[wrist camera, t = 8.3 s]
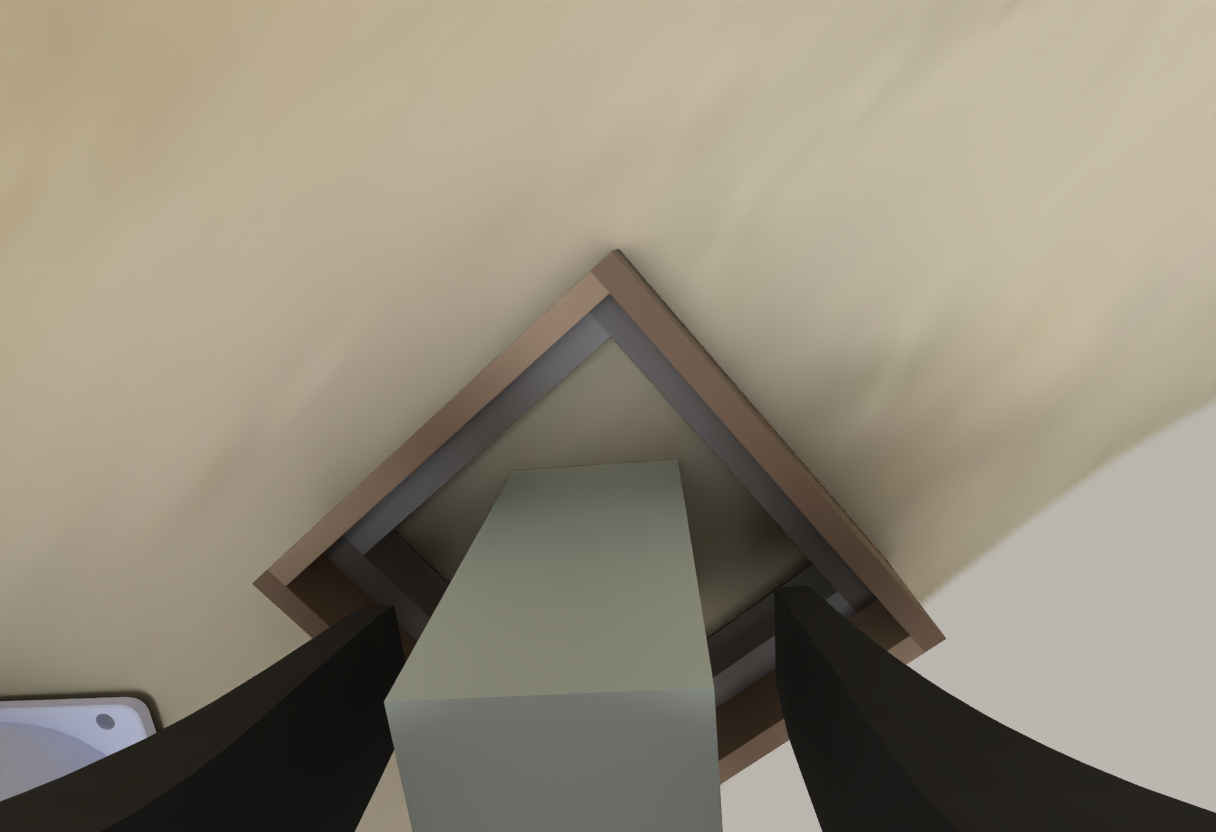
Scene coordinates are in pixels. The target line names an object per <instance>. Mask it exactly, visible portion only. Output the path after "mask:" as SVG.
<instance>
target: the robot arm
mask: <svg viewBox="0 0 1216 832" xmlns="http://www.w3.org/2000/svg"><path fill="white" fill-rule="evenodd" d="M774 610H775V667H776V686H777V690H778V695H779V699H780V704H781V708H782V712H783V717H784V721H785V725H786V729H787V733H788V737H789V740H790V742H791V745H792V748H793V751H794V754H795V757H796V759H797V762H798V765H799V768H800V771H801V774H802V776H803V779H804V782H805V785H806V787H807V790H808V793H809V796H810V798H811V801H812V804H813V807H814V810H815V812H816V815H817V818H818V821H819V823H820V826H821V829H822V831H823V832H1216V813H1214V812H1211V811H1209V810H1206V809H1203V808H1200V807H1197V806H1194V805H1191V804H1189V803H1186V802H1183V801H1180V800H1177V799H1174V798H1171V797H1168V796H1166V795H1163V794H1160V793H1157V792H1154V791H1152V790H1148V789H1146V788H1143V787H1141V786H1138V785H1135V784H1133V783H1131V782H1128V781H1126V780H1123V779H1121V778H1118V777H1116V776H1114V775H1111V774H1109V773H1106V772H1104V771H1101V770H1099V769H1097V768H1094V767H1092V766H1089V765H1087V764H1085V763H1082V762H1080V761H1078V760H1075V759H1073V758H1071V757H1069V756H1067V755H1065V754H1062V753H1060V752H1058V751H1056V750H1053V749H1051V748H1049V747H1047V746H1045V745H1043V744H1041V743H1039V742H1037V741H1035V740H1033V739H1031V738H1029V737H1027V736H1025V735H1023V734H1021V733H1019V732H1017V731H1015V730H1013V729H1011V728H1009V727H1007V726H1005V725H1003V724H1001V723H999V722H998V721H996V720H994V719H992V718H990V717H988V716H986V715H985V714H983V713H981V712H979V711H978V710H976V709H974V708H972V707H971V706H969V705H968V704H966V703H964V702H963V701H961V700H959V699H957V698H956V697H954V696H952V695H951V694H949V693H947V692H946V691H944V690H942V689H941V688H939V687H938V686H936V685H935V684H933V683H932V682H930V681H929V680H927V679H926V678H924V677H922V676H921V675H920V674H918V673H917V672H916V671H914V670H913V669H911V668H910V667H908V666H907V665H906V664H904V663H903V662H901V661H900V660H898V659H897V658H896V657H894V656H893V655H892V654H890V653H889V652H888V651H886V650H885V649H884V648H882V647H881V646H880V645H878V644H877V643H876V642H875V641H873V640H872V639H871V638H870V637H868V636H867V635H866V634H865V633H863V632H862V631H861V630H860V629H858V628H857V627H856V626H855V625H854V624H852V623H851V622H850V621H849V620H848V619H846V618H845V617H844V616H843V615H842V614H840V613H839V612H838V611H837V610H836V609H835V608H833V607H832V606H831V605H830V604H829V603H828V602H827V601H825V600H824V599H823V598H822V597H821V596H820V595H818V594H817V593H816V592H815V591H814V590H813V589H811V588H810V587H809V586H790V587H774ZM405 663H406V662H405V657H404V652H403V647H402V642H401V637H400V632H399V627H398V621H397V616H396V611H395V606H394V605H392V606H371V607H363V608H361V609H359V610H357V611H355V612H353V613H352V614H350V615H348V616H347V617H345V618H343V619H342V620H340V621H339V622H337V623H335V624H334V625H332V626H331V627H329V628H328V629H326V630H325V631H323V632H322V633H320V634H319V635H317V636H316V637H314V638H313V639H311V640H310V641H308V642H307V643H305V644H304V645H302V646H301V647H299V648H298V649H296V650H295V651H293V652H292V653H290V654H289V655H287V656H286V657H284V658H283V659H281V660H280V661H278V662H276V663H275V664H273V665H272V666H270V667H269V668H267V669H266V670H264V671H262V672H261V673H259V674H258V675H256V676H254V677H253V678H251V679H249V680H248V681H246V682H245V683H243V684H241V685H240V686H238V687H237V688H235V689H233V690H232V691H230V692H228V693H227V694H225V695H224V696H222V697H220V698H219V699H217V700H215V701H214V702H212V703H210V704H208V705H207V706H205V707H203V708H202V709H200V710H198V711H196V712H194V713H193V714H191V715H189V716H187V717H185V718H183V719H182V720H180V721H178V722H176V723H174V724H172V725H170V726H168V727H166V728H164V729H163V730H161V731H159V732H157V733H156V730H155V727H154V724H153V721H152V718H151V715H150V712H149V709H148V708H147V706H146V705H145V704H144V703H143V702H142V701H141V700H139V699H136V698H132V697H110V698H83V699H55V700H27V701H0V832H355V830H356V828H357V826H358V824H359V822H360V820H361V818H362V815H363V813H364V811H365V809H366V807H367V805H368V803H369V801H370V799H371V797H372V795H373V793H374V791H375V789H376V787H377V785H378V783H379V780H380V778H381V776H382V774H383V772H384V770H385V768H386V766H387V764H388V762H389V759H390V757H391V755H392V753H393V751H394V745H393V741H392V736H391V732H390V727H389V723H388V718H387V714H386V709H385V705H384V701H385V699H386V697H387V695H388V694H389V692H390V690H391V688H392V686H393V685H394V683H395V681H396V679H397V677H398V676H399V674H400V672H401V670H402V668H403V667H404V665H405Z"/></svg>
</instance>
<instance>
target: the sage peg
mask: <svg viewBox="0 0 1216 832" xmlns="http://www.w3.org/2000/svg"><path fill="white" fill-rule="evenodd" d="M384 705H385V709H386V714H387V718H388V723H389V727H390V732H391V736H392V741H393V745H394V750H395V754H396V759H397V763H398V768H399V772H400V777H401V781H402V786H403V790H404V795H405V799H406V804H407V808H408V813H409V817H410V822H411V826H412V831H413V832H723V830H722V815H721V796H720V779H719V762H718V745H717V728H716V710H715V693H714V683H713V677H712V671H711V664H710V658H709V652H708V646H707V639H706V633H705V627H704V620H703V614H702V608H701V601H700V595H699V589H698V583H697V576H696V570H695V564H694V557H693V551H692V545H691V539H690V532H689V526H688V520H687V513H686V507H685V501H684V494H683V488H682V482H681V476H680V469H679V463H678V459H671V460H657V461H643V462H629V463H614V464H600V465H586V466H572V467H558V468H544V469H530V470H516V471H512V473H511V475H510V477H509V479H508V480H507V482H506V484H505V486H504V487H503V489H502V491H501V493H500V495H499V496H498V498H497V500H496V502H495V504H494V505H493V507H492V509H491V511H490V513H489V514H488V516H487V518H486V520H485V522H484V523H483V525H482V527H481V529H480V530H479V532H478V534H477V536H476V538H475V539H474V541H473V543H472V545H471V547H470V548H469V550H468V552H467V554H466V556H465V557H464V559H463V561H462V563H461V565H460V566H459V568H458V570H457V572H456V574H455V575H454V577H453V579H452V581H451V582H450V584H449V586H448V588H447V590H446V591H445V593H444V595H443V597H442V599H441V600H440V602H439V604H438V606H437V608H436V609H435V611H434V613H433V615H432V617H431V618H430V620H429V622H428V624H427V625H426V627H425V629H424V631H423V633H422V634H421V636H420V638H419V640H418V642H417V643H416V645H415V647H414V649H413V651H412V652H411V654H410V656H409V658H408V660H407V661H406V663H405V665H404V667H403V668H402V670H401V672H400V674H399V676H398V677H397V679H396V681H395V683H394V685H393V686H392V688H391V690H390V692H389V694H388V695H387V697H386V699H385V701H384Z"/></svg>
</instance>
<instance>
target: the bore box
mask: <svg viewBox="0 0 1216 832" xmlns="http://www.w3.org/2000/svg"><path fill="white" fill-rule="evenodd" d="M609 337H612V338H613V339H614V341H615V342H616V343H617V344H618V345H619V346H620V347H621V348H622V350H623V351H624V352H625V353H626V354H627V355H628V356H629V357H630V359H631V360H632V361H633V362H634V363H635V364H636V365H637V366H638V368H639V369H640V370H641V371H642V372H643V373H644V374H645V375H646V377H647V378H648V379H649V380H650V381H651V382H652V383H653V384H654V386H655V387H656V388H657V389H658V390H659V391H660V392H661V393H662V395H663V396H664V397H665V398H666V399H667V400H668V401H669V402H670V404H671V405H672V406H673V407H674V408H675V409H676V410H677V411H678V413H679V414H680V415H681V416H682V417H683V418H684V419H685V420H686V422H687V423H688V424H689V425H690V426H691V427H692V428H693V429H694V431H695V432H696V433H697V434H698V435H699V436H700V437H701V438H702V440H703V441H704V442H705V443H706V444H707V445H708V446H709V447H710V448H711V450H712V451H713V452H714V453H715V454H716V455H717V456H718V457H719V459H720V460H721V461H722V462H723V463H724V464H725V465H726V466H727V468H728V469H729V470H730V471H731V472H732V473H733V474H734V475H735V477H736V478H737V479H738V480H739V481H740V482H741V483H742V484H743V486H744V487H745V488H746V489H747V490H748V491H749V492H750V493H751V495H752V496H753V497H754V498H755V499H756V500H757V501H758V502H759V504H760V505H761V506H762V507H763V508H764V509H765V510H766V511H767V513H768V514H769V515H770V516H771V517H772V518H773V519H774V520H775V522H776V523H777V524H778V525H779V526H780V527H781V528H782V529H783V531H784V532H785V533H786V534H787V535H788V536H789V537H790V538H791V540H792V541H793V542H794V543H795V544H796V545H797V546H798V547H799V549H800V550H801V551H802V552H803V553H804V554H805V555H806V556H807V558H808V559H809V560H810V561H811V562H812V563H813V564H812V565H811V566H809V567H808V568H806V569H805V570H804V571H802V572H801V573H799V574H798V575H797V576H795V577H794V578H792V579H791V580H790V581H788V582H787V583H785V584H784V585H783V586H781V587H790V586H809V587H810V588H811V589H813V590H814V591H815V592H816V593H817V594H818V595H820V596H821V597H822V598H823V599H824V600H825V601H827V602H828V603H829V604H830V605H831V606H832V607H833V608H835V609H836V610H837V611H838V612H839V613H840V614H842V615H843V616H844V617H845V618H846V619H848V620H849V621H850V622H851V623H852V624H854V625H855V626H856V627H857V628H858V629H860V630H861V631H862V632H863V633H865V634H866V635H867V636H868V637H870V638H871V639H872V640H873V641H875V642H876V643H877V644H878V645H880V646H881V647H882V648H884V649H885V650H886V651H888V652H889V653H890V654H892V655H893V656H894V657H896V658H897V659H898V660H900V661H901V662H903V663H904V664H908V663H909V662H911V661H912V660H914V659H915V658H917V657H918V656H920V655H922V654H923V653H925V652H926V651H928V650H929V649H931V648H932V647H934V646H936V645H937V644H938V643H940V642H942V641H943V640H945V639H946V638H945V636H944V635H943V634H942V632H941V631H940V630H939V629H938V627H937V626H936V625H935V623H934V622H933V621H932V619H931V618H930V617H929V615H928V614H927V613H926V611H925V610H924V609H923V607H922V606H921V605H920V603H919V602H918V601H917V599H916V598H915V597H914V595H913V594H912V593H911V591H910V590H909V589H908V587H907V586H906V585H905V583H904V582H903V581H902V579H901V578H900V577H899V575H898V574H897V573H896V571H895V570H894V569H893V568H892V566H891V565H890V564H889V562H888V561H887V560H886V559H885V558H884V557H883V555H882V554H881V553H880V552H879V551H878V550H877V549H876V547H875V546H874V545H873V544H872V543H871V542H870V540H869V539H868V538H867V537H866V536H865V535H864V533H863V532H862V531H861V530H860V529H859V528H858V526H857V525H856V524H855V523H854V522H853V521H852V519H851V518H850V517H849V516H848V515H847V514H846V512H845V511H844V510H843V509H842V508H841V507H840V506H839V504H838V503H837V502H836V501H835V500H834V499H833V497H832V496H831V495H830V494H829V493H828V492H827V490H826V489H825V488H824V487H823V486H822V485H821V483H820V482H819V481H818V480H817V479H816V478H815V476H814V475H813V474H812V473H811V472H810V471H809V469H808V468H807V467H806V466H805V465H804V464H803V463H802V461H801V460H800V459H799V458H798V457H797V456H796V454H795V453H794V452H793V451H792V450H791V449H790V447H789V446H788V445H787V444H786V443H785V442H784V440H783V439H782V438H781V437H780V436H779V435H778V433H777V432H776V431H775V430H774V429H773V428H772V426H771V425H770V424H769V423H768V422H767V421H766V420H765V418H764V417H763V416H762V415H761V414H760V413H759V411H758V410H757V409H756V408H755V407H754V406H753V404H752V403H751V402H750V401H749V400H748V399H747V397H746V396H745V395H744V394H743V393H742V392H741V390H740V389H739V388H738V387H737V386H736V385H735V384H734V382H733V381H732V380H731V379H730V378H729V377H728V375H727V374H726V373H725V372H724V371H723V370H722V368H721V367H720V366H719V365H718V364H717V363H716V361H715V360H714V359H713V358H712V357H711V356H710V354H709V353H708V352H707V351H706V350H705V349H704V347H703V346H702V345H701V344H700V343H699V342H698V341H697V339H696V338H695V337H694V336H693V335H692V334H691V332H690V331H689V330H688V329H687V328H686V327H685V325H684V324H683V323H682V322H681V321H680V320H679V318H678V317H677V316H676V315H675V314H674V313H673V311H672V310H671V309H670V308H669V307H668V306H667V304H666V303H665V302H664V301H663V300H662V299H661V298H660V296H659V295H658V294H657V293H656V292H655V291H654V289H653V288H652V287H651V286H650V285H649V284H648V282H647V281H646V280H645V279H644V278H643V277H642V275H641V274H640V273H639V272H638V271H637V270H636V268H635V267H634V266H633V265H632V264H631V263H630V261H629V260H628V259H627V258H626V257H625V256H624V255H623V253H622V252H621V251H620V250H619V249H617V250H614V251H612V252H611V253H610V254H609V255H608V256H607V257H605V258H604V259H603V260H602V261H601V262H600V263H599V264H598V265H597V266H596V267H595V268H594V269H592V270H591V271H590V272H589V273H588V274H587V275H586V276H585V277H584V278H583V279H582V280H581V281H579V282H578V283H577V284H576V285H575V286H574V287H573V288H572V289H571V290H570V291H569V292H568V293H566V294H565V295H564V296H563V297H562V298H561V299H560V300H559V301H558V302H557V303H556V304H555V305H553V306H552V307H551V308H550V309H549V310H548V311H547V312H546V313H545V314H544V315H543V316H542V317H540V318H539V319H538V320H537V321H536V322H535V323H534V324H533V325H532V326H531V327H530V328H529V329H527V330H526V331H525V332H524V333H523V334H522V335H521V336H520V337H519V338H518V339H517V340H516V341H514V342H513V343H512V344H511V345H510V346H509V347H508V348H507V349H506V350H505V351H504V352H503V353H501V354H500V355H499V356H498V357H497V358H496V359H495V360H494V361H493V362H492V363H491V364H490V365H488V366H487V367H486V368H485V369H484V370H483V371H482V372H481V373H480V374H479V375H478V376H477V377H475V378H474V379H473V380H472V381H471V382H470V383H469V384H468V385H467V386H466V387H465V388H464V389H463V390H461V391H460V392H459V393H458V394H457V395H456V396H455V397H454V398H453V399H452V400H451V401H450V402H448V403H447V404H446V405H445V406H444V407H443V408H442V409H441V410H440V411H439V412H438V413H437V414H435V415H434V416H433V417H432V418H431V419H430V420H429V421H428V422H427V423H426V424H425V425H424V426H422V427H421V428H420V429H419V430H418V431H417V432H416V433H415V434H414V435H413V436H412V437H411V438H409V439H408V440H407V441H406V442H405V443H404V444H403V445H402V446H401V447H400V448H399V449H398V450H396V451H395V452H394V453H393V454H392V455H391V456H390V457H389V458H388V459H387V460H386V461H385V462H383V463H382V464H381V465H380V466H379V467H378V468H377V469H376V470H375V471H374V472H373V473H372V474H370V475H369V476H368V477H367V478H366V479H365V480H364V481H363V482H362V483H361V484H360V485H359V486H357V487H356V488H355V489H354V490H353V491H352V492H351V493H350V494H349V495H348V496H347V497H346V498H344V499H343V500H342V501H341V502H340V503H339V504H338V505H337V506H336V507H335V508H334V509H333V510H331V511H330V512H329V513H328V514H327V515H326V516H325V517H324V518H323V519H322V520H321V521H320V522H318V523H317V524H316V525H315V526H314V527H313V528H312V529H311V530H310V531H309V532H308V533H307V534H305V535H304V536H303V537H302V538H301V539H300V540H299V541H298V542H297V543H296V544H295V545H294V546H292V547H291V548H290V549H289V550H288V551H287V552H286V553H285V554H284V555H283V556H282V557H281V558H279V559H278V560H277V561H276V562H275V563H274V564H273V565H272V566H271V567H270V568H269V569H268V570H266V571H265V572H264V573H263V574H262V575H261V576H260V577H259V578H258V579H257V580H256V581H255V582H253V583H252V584H253V585H254V586H255V587H256V588H258V589H259V590H260V591H261V592H262V593H263V594H264V595H265V596H266V597H268V598H269V599H270V600H271V601H272V602H273V603H274V604H275V605H276V606H278V607H279V608H280V609H281V610H282V611H283V612H284V613H285V614H286V615H288V616H289V617H290V618H291V619H292V620H293V621H294V622H295V623H296V624H298V625H299V626H300V627H301V628H302V629H303V630H304V631H305V632H306V633H308V634H309V635H310V636H311V637H312V638H314V637H316V636H317V635H319V634H320V633H322V632H323V631H325V630H326V629H328V628H329V627H331V626H332V625H334V624H335V623H337V622H339V621H340V620H342V619H343V618H345V617H347V616H348V615H350V614H352V613H353V612H355V611H357V610H359V609H361V608H363V607H371V606H392V605H394V606H395V611H396V616H397V621H398V627H399V632H400V637H401V642H402V647H403V652H404V657H405V662H406V661H407V660H408V658H409V656H410V654H411V652H412V651H413V649H414V647H415V645H416V643H417V642H418V640H419V638H420V636H421V634H422V633H423V631H424V629H425V627H426V625H427V624H428V622H429V620H430V618H431V617H432V615H433V613H434V611H435V609H436V608H437V606H438V604H439V602H440V600H441V599H442V597H443V595H444V593H445V591H446V590H447V588H448V586H449V584H448V583H447V582H446V581H445V580H444V579H443V578H442V577H441V576H440V575H438V574H437V573H436V572H435V571H434V570H433V569H432V568H431V567H430V566H429V565H428V564H427V563H426V562H425V561H424V560H423V559H422V558H421V557H420V556H419V555H418V554H417V553H416V552H415V551H414V550H413V549H412V548H410V547H409V546H408V545H407V544H406V543H405V542H404V541H403V540H402V539H401V538H400V537H399V536H398V535H397V534H396V533H395V532H394V531H393V530H392V529H393V528H395V527H396V526H397V525H398V524H399V523H400V522H401V521H403V520H404V519H405V518H406V517H407V516H408V515H409V514H410V513H412V512H413V511H414V510H415V509H416V508H417V507H418V506H419V505H421V504H422V503H423V502H424V501H425V500H426V499H427V498H429V497H430V496H431V495H432V494H433V493H434V492H435V491H436V490H438V489H439V488H440V487H441V486H442V485H443V484H444V483H445V482H447V481H448V480H449V479H450V478H451V477H452V476H453V475H455V474H456V473H457V472H458V471H459V470H460V469H461V468H462V467H464V466H465V465H466V464H467V463H468V462H469V461H470V460H471V459H473V458H474V457H475V456H476V455H477V454H478V453H479V452H481V451H482V450H483V449H484V448H485V447H486V446H487V445H488V444H490V443H491V442H492V441H493V440H494V439H495V438H496V437H497V436H499V435H500V434H501V433H502V432H503V431H504V430H505V429H507V428H508V427H509V426H510V425H511V424H512V423H513V422H514V421H516V420H517V419H518V418H519V417H520V416H521V415H522V414H523V413H525V412H526V411H527V410H528V409H529V408H530V407H531V406H533V405H534V404H535V403H536V402H537V401H538V400H539V399H540V398H542V397H543V396H544V395H545V394H546V393H547V392H548V391H549V390H551V389H552V388H553V387H554V386H555V385H556V384H557V383H559V382H560V381H561V380H562V379H563V378H564V377H565V376H566V375H568V374H569V373H570V372H571V371H572V370H573V369H574V368H575V367H577V366H578V365H579V364H580V363H581V362H582V361H583V360H585V359H586V358H587V357H588V356H589V355H590V354H591V353H592V352H594V351H595V350H596V349H597V348H598V347H599V346H600V345H601V344H603V343H604V342H605V341H606V340H607V339H608V338H609ZM707 646H708V652H709V658H710V664H711V671H712V677H713V683H714V693H715V710H716V728H717V745H718V762H719V779H720V784H722V783H723V782H725V781H726V780H728V779H729V778H731V777H732V776H734V775H735V774H737V773H739V772H740V771H742V770H743V769H745V768H746V767H748V766H749V765H751V764H753V763H754V762H756V761H757V760H759V759H760V758H762V757H763V756H765V755H766V754H768V753H770V752H771V751H773V750H774V749H776V748H777V747H779V746H780V745H782V744H783V743H785V742H787V741H788V740H789V737H788V733H787V729H786V725H785V721H784V717H783V712H782V708H781V704H780V699H779V695H778V690H777V686H776V667H775V610H774V592H773V593H771V594H770V595H769V596H767V597H766V598H764V599H763V600H761V601H760V602H759V603H757V604H756V605H754V606H753V607H752V608H750V609H749V610H747V611H746V612H745V613H743V614H742V615H740V616H739V617H738V618H736V619H735V620H733V621H732V622H731V623H729V624H728V625H726V626H725V627H724V628H722V629H721V630H719V631H718V632H717V633H715V634H714V635H712V636H711V637H710V638H708V639H707Z"/></svg>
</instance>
